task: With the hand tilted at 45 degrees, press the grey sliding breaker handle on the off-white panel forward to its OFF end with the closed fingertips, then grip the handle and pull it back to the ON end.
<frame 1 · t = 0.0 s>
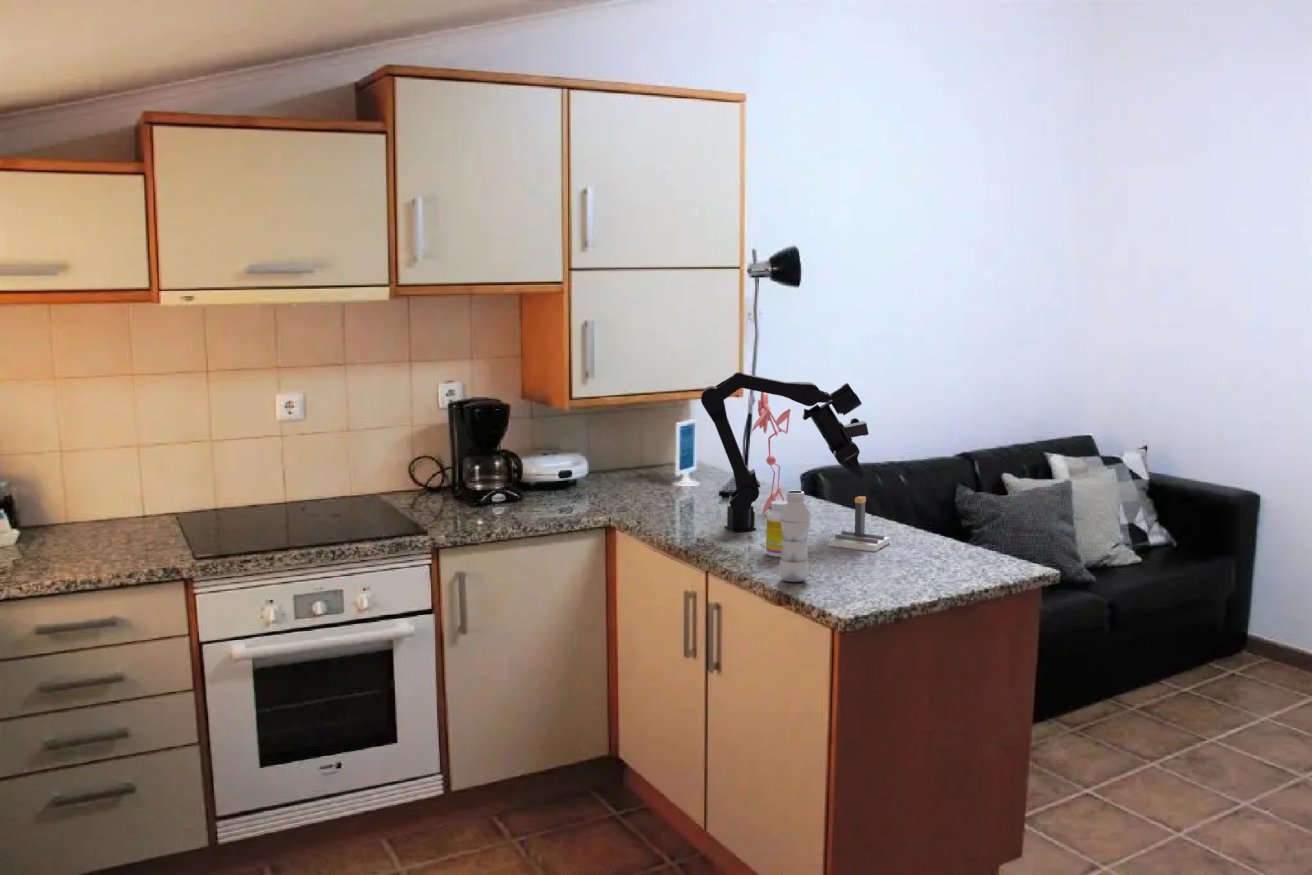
hand: (860, 474, 291), 15 cm above the worktop, tool tilted 35°, fingers open, 9 cm apart
supplement bottle: (779, 555, 267), on the worktop
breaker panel: (859, 544, 277), on the worktop
plastic bottle: (794, 582, 243), on the worktop
breaker handle: (860, 517, 276), point 7 cm above the worktop, slide at 0.0 cm
figurine: (761, 510, 319), on the worktop
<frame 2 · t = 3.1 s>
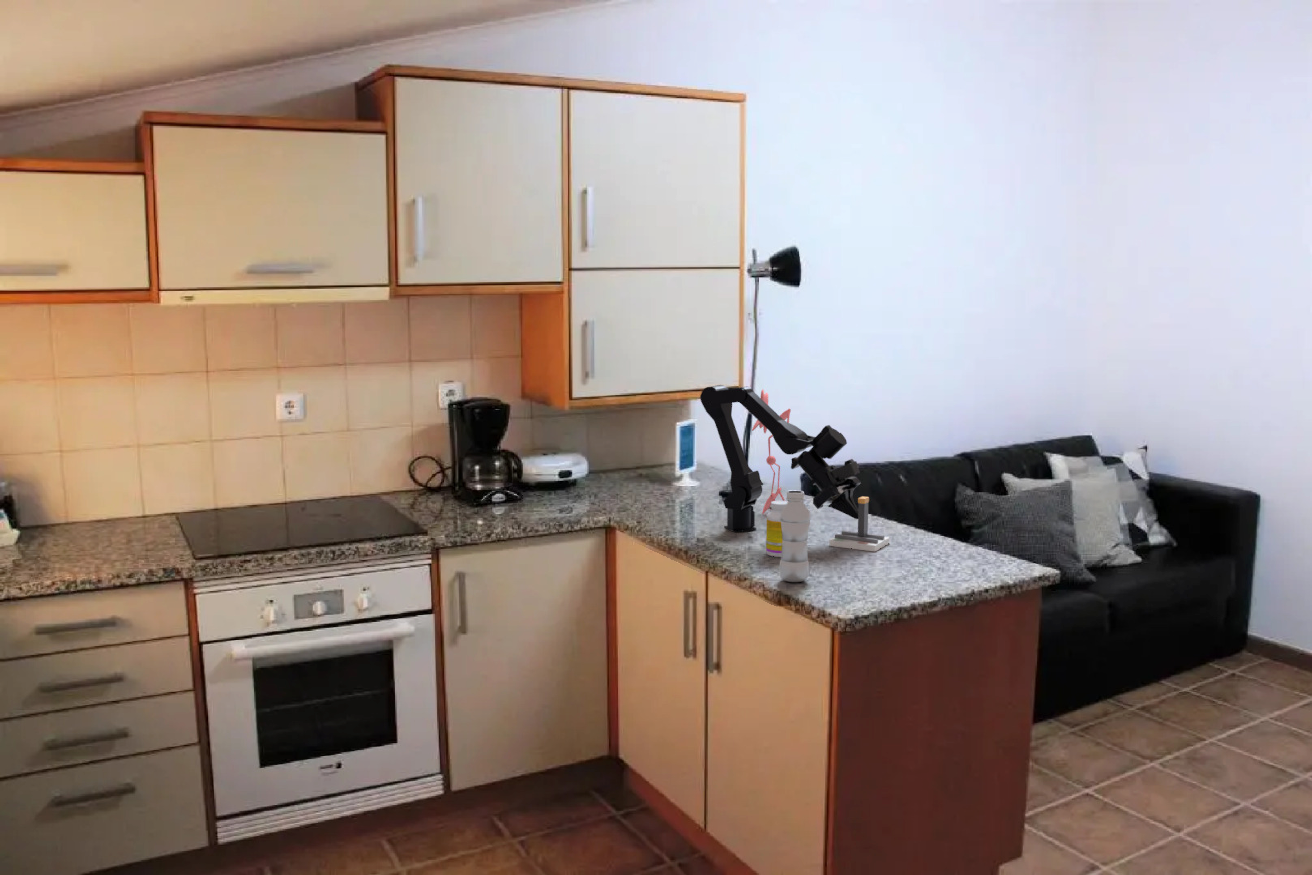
hand: (859, 517, 276), 7 cm above the worktop, tool tilted 45°, fingers closed, pressing on breaker handle
breaker handle: (863, 517, 276), point 7 cm above the worktop, slide at 0.8 cm, touching gripper
everything else where it was.
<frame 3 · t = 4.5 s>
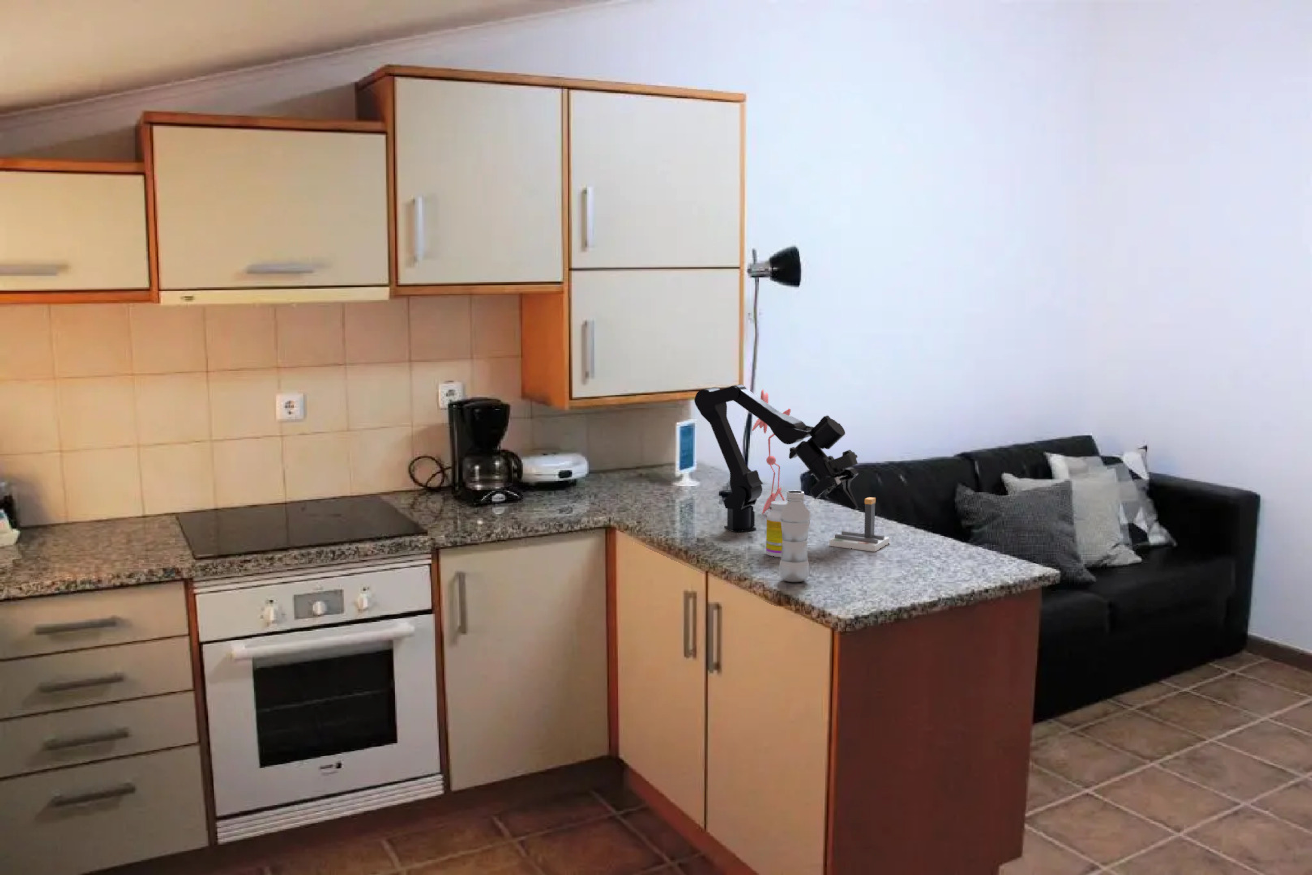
hand: (856, 508, 276), 9 cm above the worktop, tool tilted 45°, fingers closed
breaker handle: (869, 518, 275), point 7 cm above the worktop, slide at 2.6 cm
everything else where it was.
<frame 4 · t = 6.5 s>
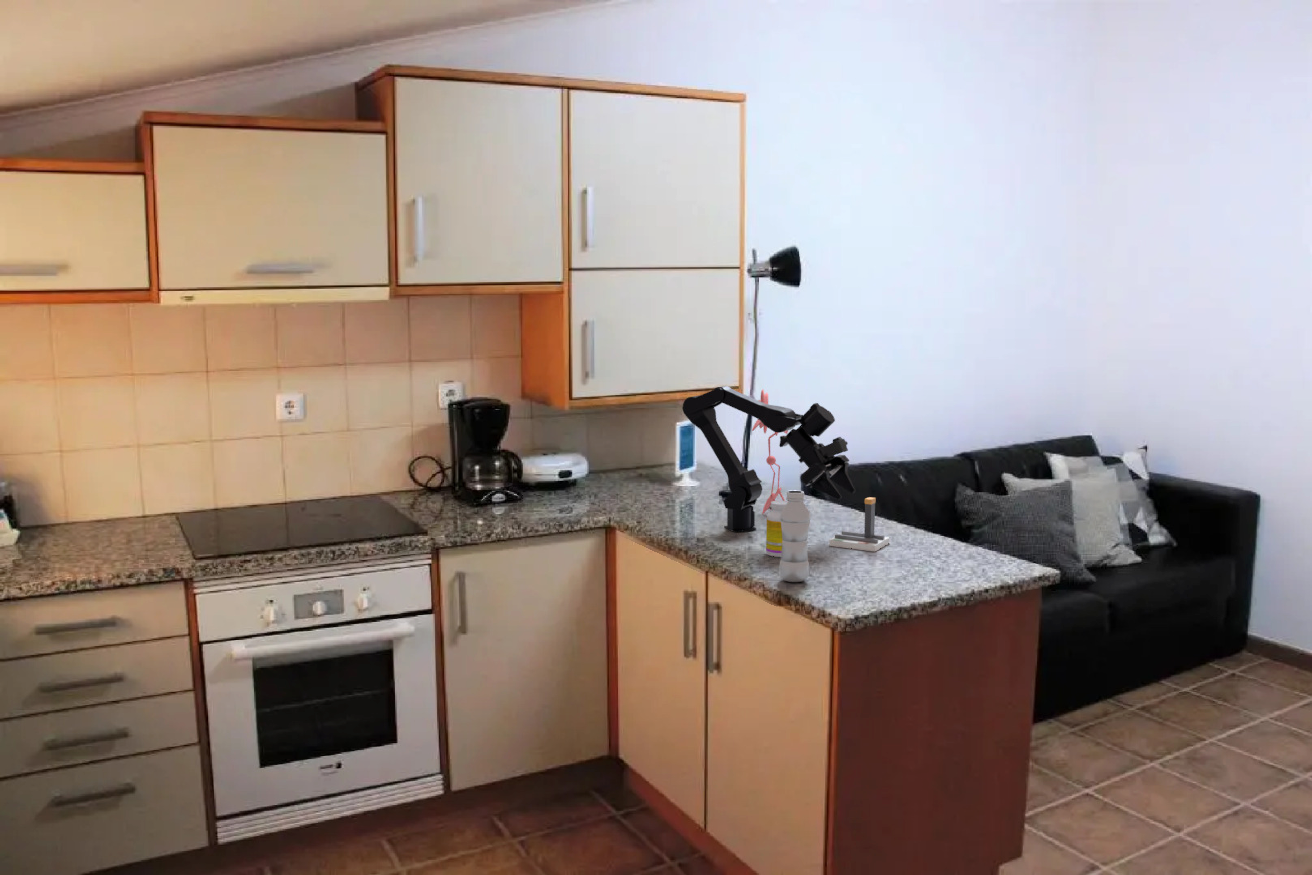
hand: (847, 495, 277), 12 cm above the worktop, tool tilted 45°, fingers open, 9 cm apart
nothing on the worktop moved.
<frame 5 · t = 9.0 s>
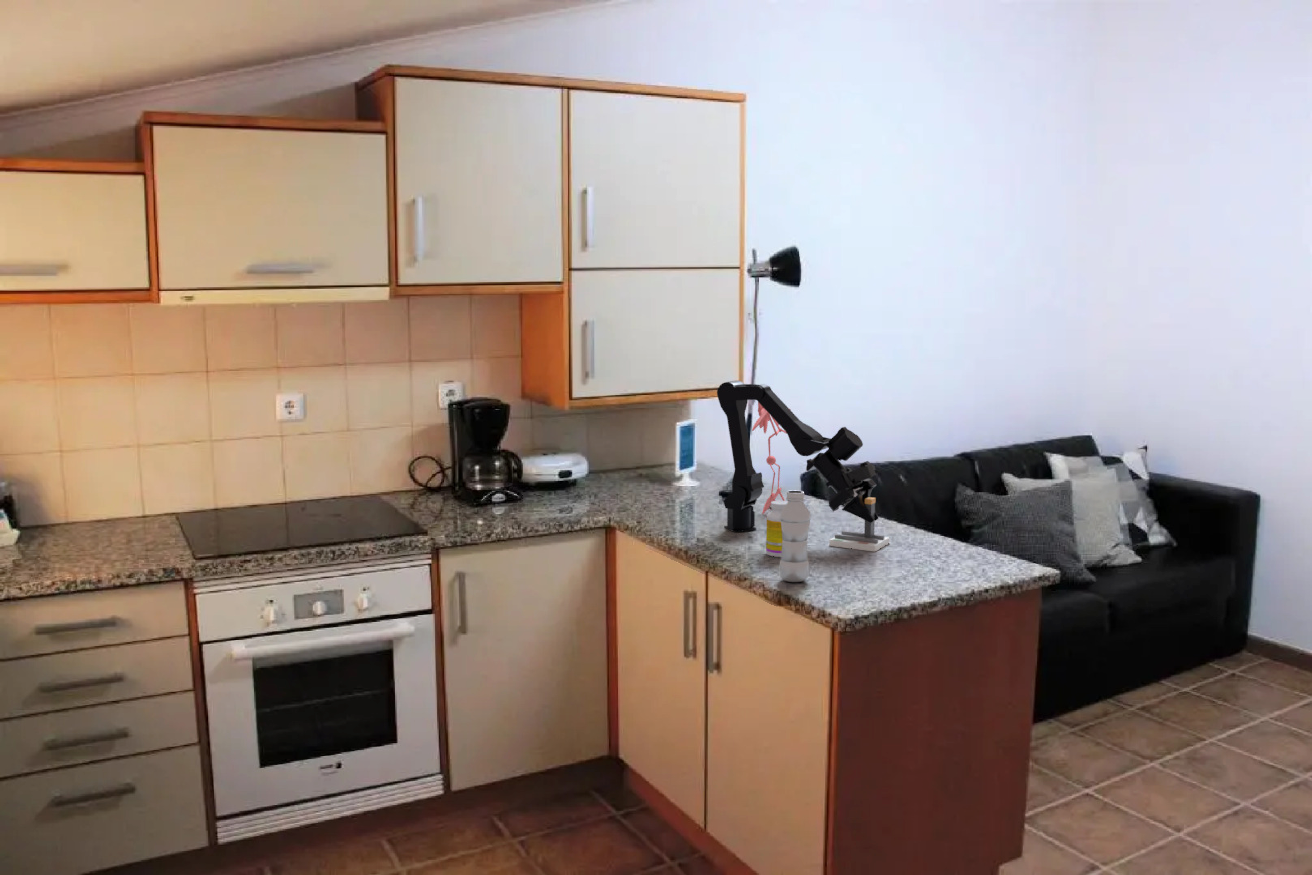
hand: (874, 520, 274), 7 cm above the worktop, tool tilted 45°, fingers closed on breaker handle, 3 cm apart
breaker handle: (869, 518, 275), point 7 cm above the worktop, slide at 2.6 cm, touching gripper
everything else where it was.
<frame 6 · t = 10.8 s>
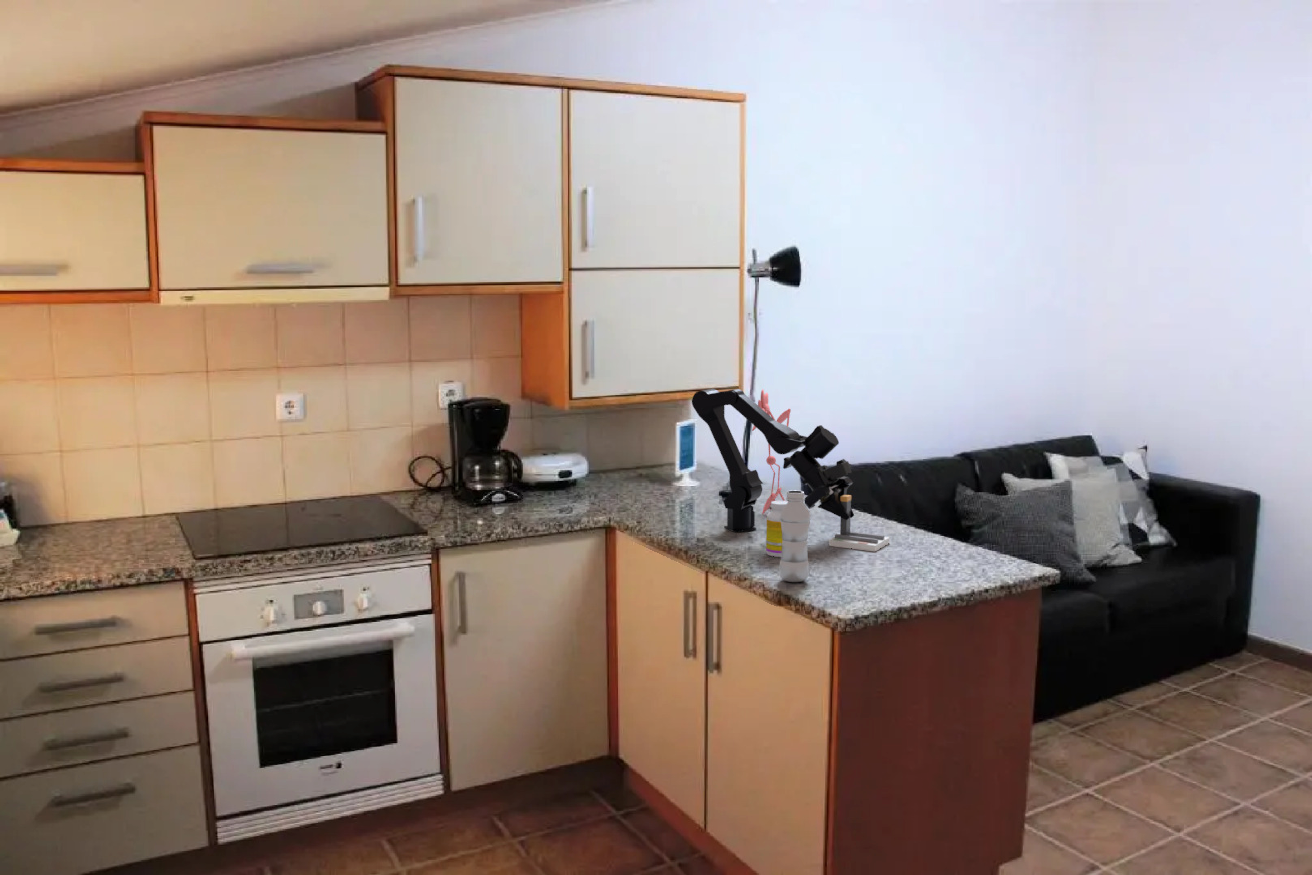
hand: (850, 517, 277), 7 cm above the worktop, tool tilted 45°, fingers closed on breaker handle, 3 cm apart
breaker handle: (845, 515, 278), point 7 cm above the worktop, slide at -3.8 cm, touching gripper
everything else where it was.
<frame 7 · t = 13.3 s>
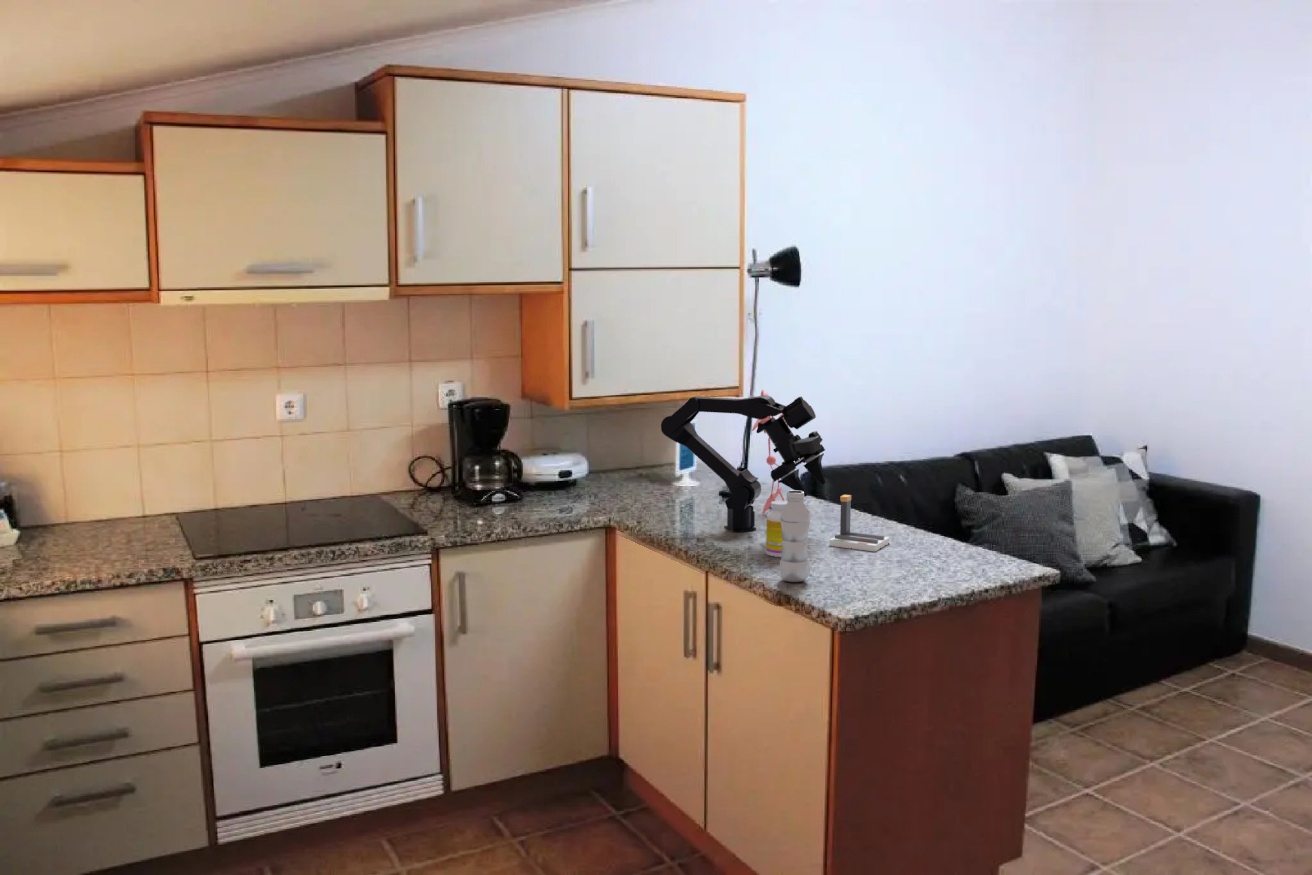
hand: (815, 489, 285), 12 cm above the worktop, tool tilted 35°, fingers open, 9 cm apart
breaker handle: (845, 515, 278), point 7 cm above the worktop, slide at -3.8 cm
everything else where it was.
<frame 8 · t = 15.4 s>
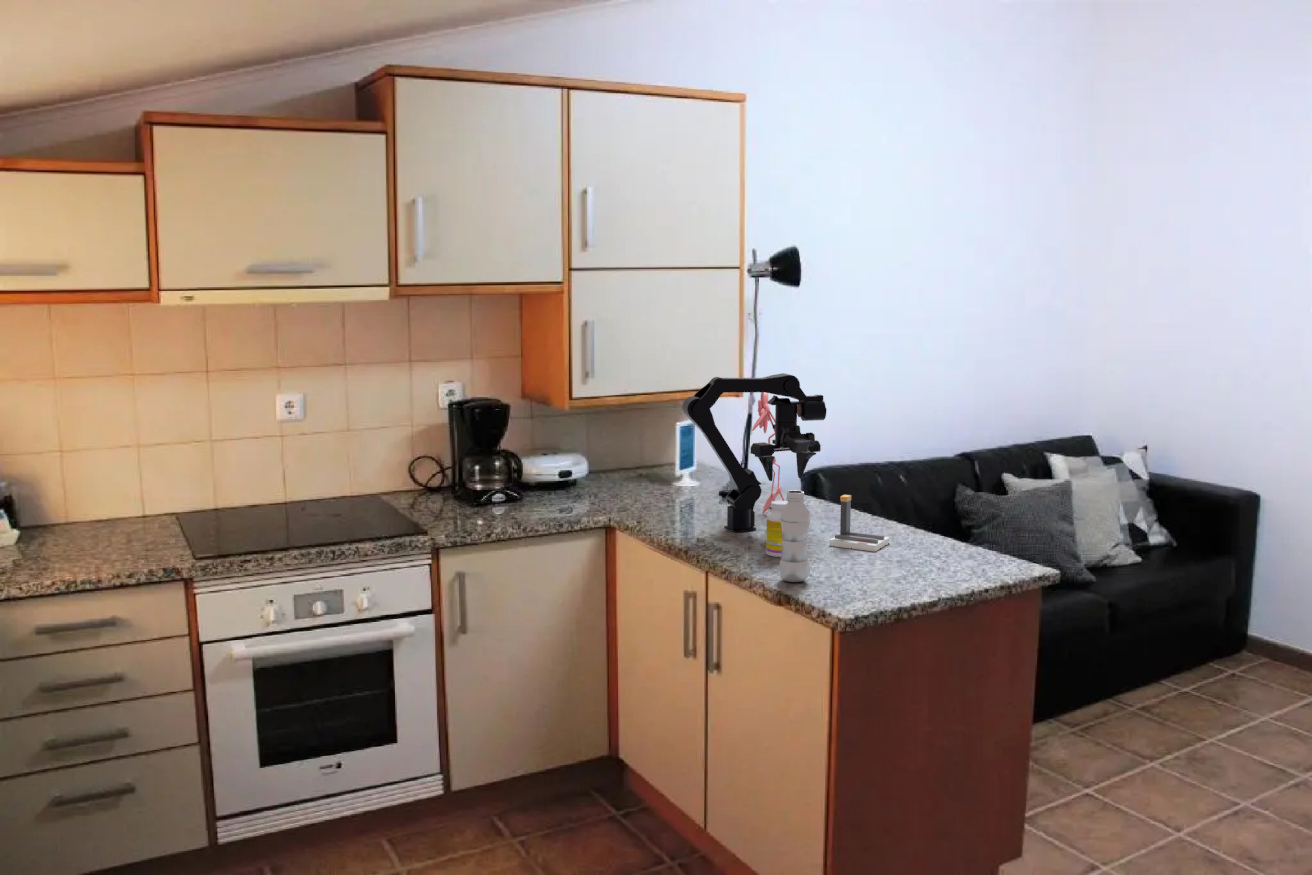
hand: (785, 479, 295), 13 cm above the worktop, tool pointing down, fingers open, 9 cm apart
nothing on the worktop moved.
at the end: breaker handle slide at -3.8 cm; the gripper is holding nothing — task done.
